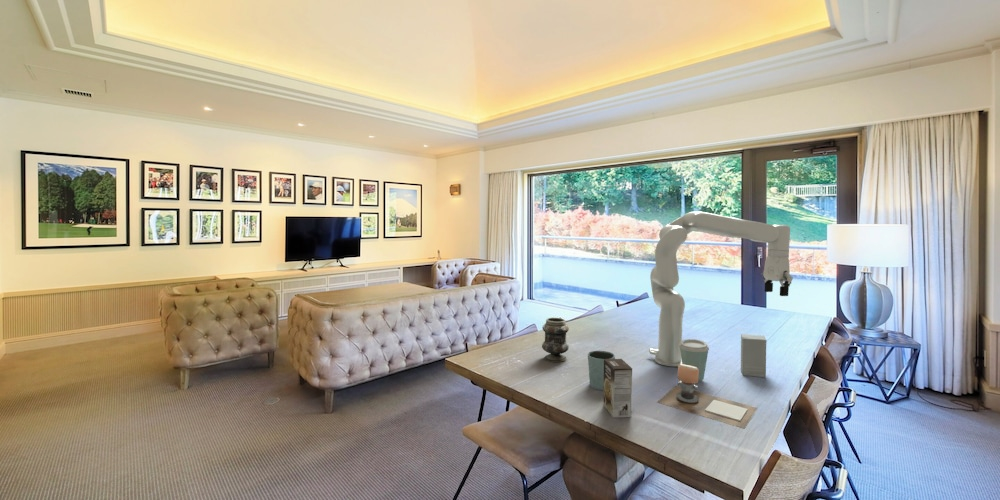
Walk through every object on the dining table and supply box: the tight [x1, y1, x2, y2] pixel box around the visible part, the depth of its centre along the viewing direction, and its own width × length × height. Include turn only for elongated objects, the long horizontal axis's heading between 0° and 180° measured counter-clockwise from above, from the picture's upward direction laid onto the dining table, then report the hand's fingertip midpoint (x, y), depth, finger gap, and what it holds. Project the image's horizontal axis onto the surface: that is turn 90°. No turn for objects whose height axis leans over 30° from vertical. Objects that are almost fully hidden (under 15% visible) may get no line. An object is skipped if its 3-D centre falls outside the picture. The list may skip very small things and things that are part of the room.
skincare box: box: [740, 333, 768, 378], centre depth 162 cm, size 8×7×16 cm
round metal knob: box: [676, 380, 699, 404], centre depth 138 cm, size 7×7×7 cm
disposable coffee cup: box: [679, 338, 710, 382], centre depth 157 cm, size 11×11×15 cm
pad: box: [705, 400, 748, 421], centre depth 130 cm, size 10×10×1 cm
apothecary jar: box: [541, 317, 570, 363], centre depth 182 cm, size 12×12×18 cm
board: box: [656, 385, 758, 430], centre depth 134 cm, size 26×18×1 cm
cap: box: [677, 364, 699, 384], centre depth 137 cm, size 6×6×5 cm
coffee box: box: [602, 358, 633, 418], centre depth 132 cm, size 9×6×16 cm
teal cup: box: [587, 350, 616, 391], centre depth 152 cm, size 10×10×12 cm
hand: (775, 293), depth 172 cm, fingers open, 9 cm apart
